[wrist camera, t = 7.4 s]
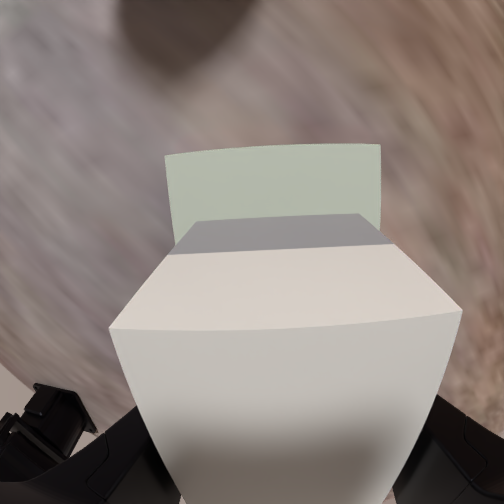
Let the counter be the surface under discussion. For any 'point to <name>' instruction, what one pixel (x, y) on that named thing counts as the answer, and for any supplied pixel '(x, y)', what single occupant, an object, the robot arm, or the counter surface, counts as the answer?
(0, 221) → the counter surface
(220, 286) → the block
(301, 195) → the stand
